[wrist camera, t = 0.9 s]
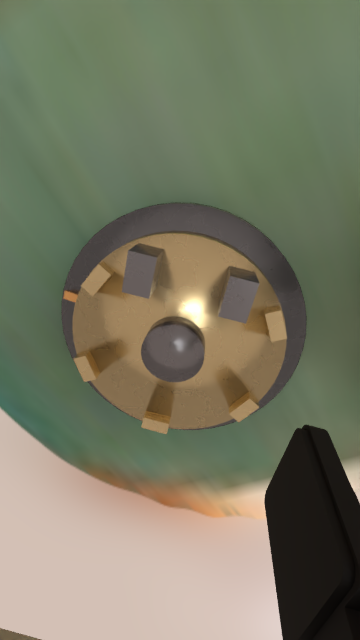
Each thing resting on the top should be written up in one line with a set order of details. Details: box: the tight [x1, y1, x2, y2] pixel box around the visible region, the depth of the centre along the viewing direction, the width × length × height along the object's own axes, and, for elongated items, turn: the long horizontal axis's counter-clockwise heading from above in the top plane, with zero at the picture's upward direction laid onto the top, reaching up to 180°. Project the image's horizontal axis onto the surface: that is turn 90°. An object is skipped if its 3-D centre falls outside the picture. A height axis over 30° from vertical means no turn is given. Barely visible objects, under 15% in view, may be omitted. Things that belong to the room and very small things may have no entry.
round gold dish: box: [72, 230, 287, 434], centre depth 27 cm, size 18×18×5 cm
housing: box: [62, 202, 306, 430], centre depth 30 cm, size 22×22×2 cm
